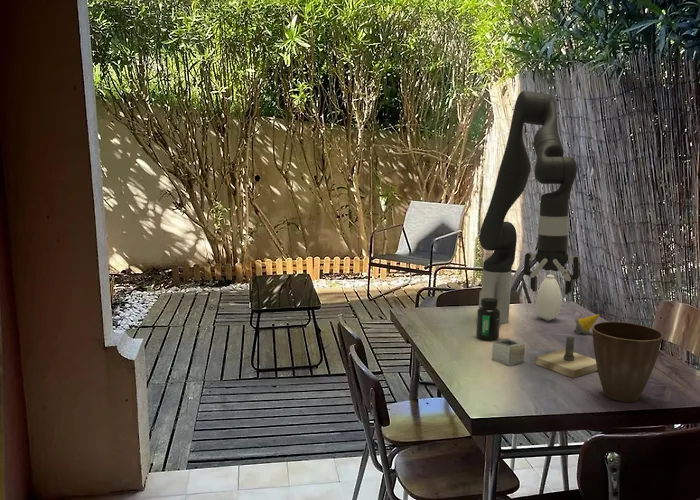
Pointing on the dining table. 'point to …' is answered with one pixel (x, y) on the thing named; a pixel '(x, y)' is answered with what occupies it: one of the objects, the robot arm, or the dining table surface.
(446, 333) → the dining table surface
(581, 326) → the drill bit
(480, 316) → the supplement bottle
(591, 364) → the post block
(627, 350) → the plant pot
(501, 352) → the collar
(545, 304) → the white vase
